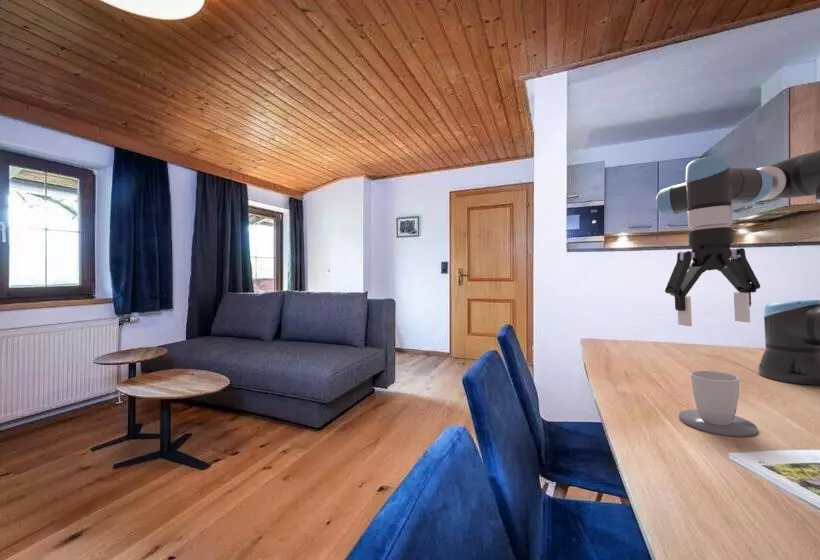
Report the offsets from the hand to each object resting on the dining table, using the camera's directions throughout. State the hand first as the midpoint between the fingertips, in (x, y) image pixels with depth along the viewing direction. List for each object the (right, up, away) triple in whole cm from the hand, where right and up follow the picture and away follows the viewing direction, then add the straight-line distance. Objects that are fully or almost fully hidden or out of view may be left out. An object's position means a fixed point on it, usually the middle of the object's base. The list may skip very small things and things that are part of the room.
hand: (713, 323), depth 79 cm
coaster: (0, -22, -1) cm, 22 cm away
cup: (0, -22, -1) cm, 22 cm away
